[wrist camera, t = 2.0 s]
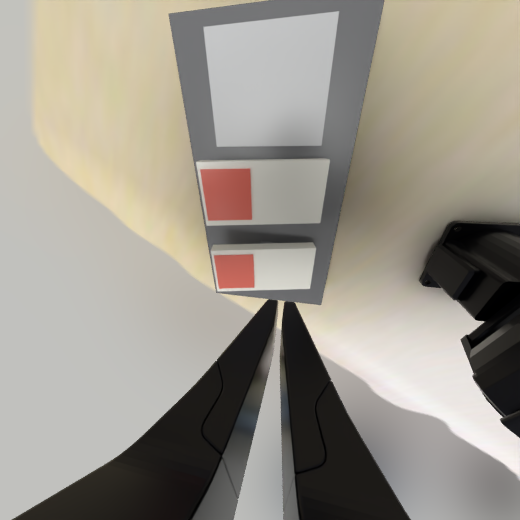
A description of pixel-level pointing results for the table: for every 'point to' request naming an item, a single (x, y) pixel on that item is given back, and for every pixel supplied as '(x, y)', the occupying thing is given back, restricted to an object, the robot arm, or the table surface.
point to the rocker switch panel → (278, 103)
